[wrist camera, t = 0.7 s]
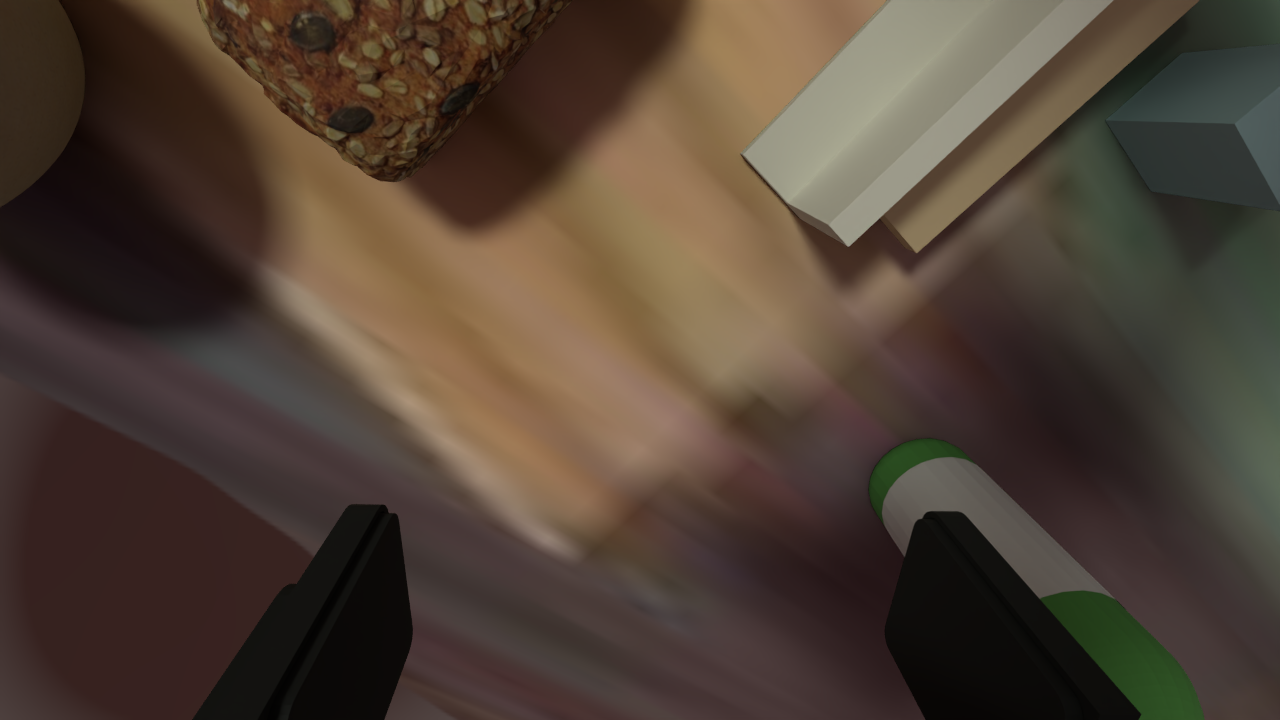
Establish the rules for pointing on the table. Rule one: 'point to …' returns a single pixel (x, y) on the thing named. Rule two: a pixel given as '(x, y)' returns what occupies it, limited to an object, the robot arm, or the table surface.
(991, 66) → the wall shelf
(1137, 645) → the wine bottle
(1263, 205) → the cabinet block
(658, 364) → the table surface
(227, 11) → the bread
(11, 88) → the flower pot
